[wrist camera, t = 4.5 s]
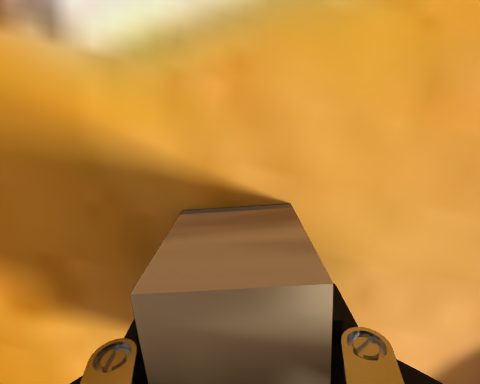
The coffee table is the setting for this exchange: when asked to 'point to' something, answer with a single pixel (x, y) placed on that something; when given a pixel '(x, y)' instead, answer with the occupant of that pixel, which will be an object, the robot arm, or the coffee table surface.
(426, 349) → the coffee table surface
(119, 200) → the coffee table surface
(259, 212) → the block
